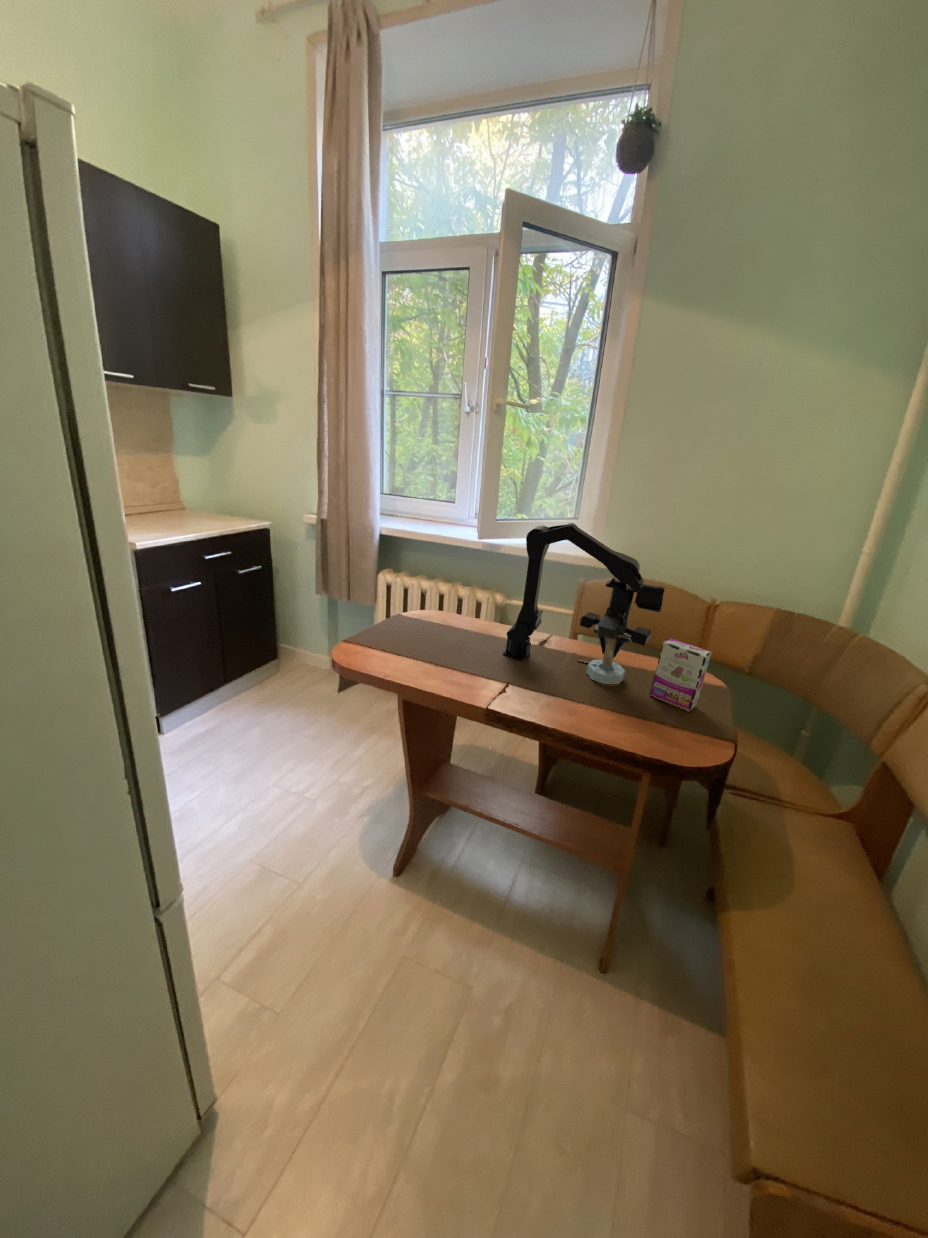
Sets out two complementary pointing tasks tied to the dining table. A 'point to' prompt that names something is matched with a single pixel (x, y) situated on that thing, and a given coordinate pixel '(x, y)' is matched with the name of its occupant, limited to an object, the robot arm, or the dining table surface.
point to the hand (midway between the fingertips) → (608, 655)
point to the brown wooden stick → (583, 661)
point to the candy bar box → (680, 673)
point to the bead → (605, 672)
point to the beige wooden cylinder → (609, 651)
